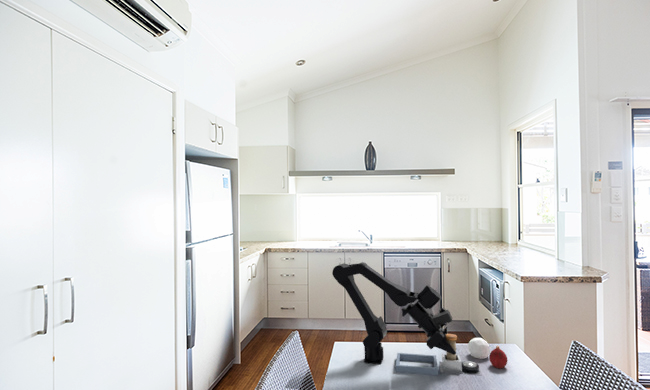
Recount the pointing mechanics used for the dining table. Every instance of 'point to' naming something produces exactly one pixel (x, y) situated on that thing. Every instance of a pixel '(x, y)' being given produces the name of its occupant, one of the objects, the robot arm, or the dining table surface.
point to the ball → (478, 348)
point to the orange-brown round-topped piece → (451, 339)
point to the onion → (498, 358)
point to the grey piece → (458, 366)
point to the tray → (416, 368)
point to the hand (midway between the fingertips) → (455, 351)
